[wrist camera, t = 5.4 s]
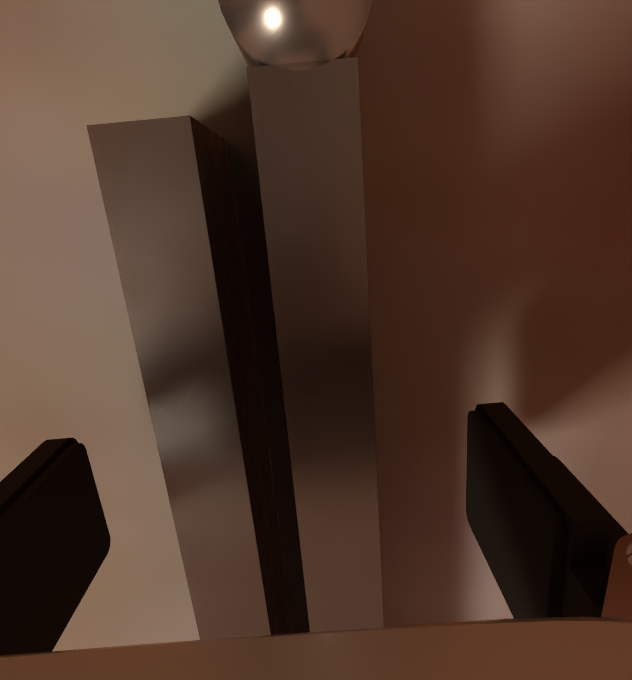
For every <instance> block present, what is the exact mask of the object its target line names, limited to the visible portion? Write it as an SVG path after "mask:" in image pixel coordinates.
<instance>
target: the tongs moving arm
mask: <svg viewBox="0 0 632 680" xmlns="http://www.w3.org/2000/svg"><path fill="white" fill-rule="evenodd" d="M218 1H219V4H220V8H221V11H222V13H223V16H224V18H225V20H226V22H227V24H228V26H229V28H230V31H231V33H232V35H233V37H234V39H235V41H236V43H237V45H238V47H239V49H240V51H241V53H242V55H243V57H244V59H245V61H246V63H247V65H248V67H247V75H248V83H249V92H250V101H251V110H252V119H253V128H254V137H255V146H256V155H257V164H258V173H259V182H260V190H261V199H262V208H263V217H264V226H265V235H266V244H267V253H268V262H269V271H270V280H271V289H272V298H273V306H274V315H275V324H276V333H277V342H278V351H279V360H280V369H281V378H282V387H283V396H284V405H285V414H286V422H287V431H288V440H289V449H290V458H291V467H292V476H293V485H294V494H295V503H296V512H297V521H298V529H299V538H300V547H301V556H302V565H303V574H304V583H305V592H306V601H307V610H308V619H309V628H310V632H321V631H335V630H350V629H365V628H380V627H384V618H383V596H382V574H381V552H380V530H379V508H378V486H377V464H376V442H375V421H374V399H373V377H372V355H371V333H370V311H369V289H368V267H367V245H366V223H365V202H364V180H363V158H362V136H361V114H360V92H359V70H358V57H356V55H357V51H358V48H359V45H360V42H361V39H362V36H363V33H364V29H365V26H366V23H367V20H368V17H369V14H370V11H371V7H372V3H373V0H218Z"/></svg>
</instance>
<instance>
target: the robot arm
mask: <svg viewBox="0 0 632 680" xmlns="http://www.w3.org/2000/svg"><path fill="white" fill-rule="evenodd" d="M466 513H467V518H468V522H469V525H470V527H471V529H472V531H473V533H474V535H475V538H476V540H477V542H478V544H479V546H480V548H481V550H482V552H483V554H484V556H485V559H486V561H487V563H488V565H489V567H490V569H491V571H492V573H493V575H494V577H495V579H496V582H497V584H498V586H499V588H500V590H501V592H502V594H503V596H504V598H505V600H506V603H507V605H508V607H509V609H510V611H511V613H512V615H513V617H514V619H499V620H484V621H469V622H454V623H439V624H424V625H409V626H395V627H380V628H365V629H350V630H335V631H321V632H306V633H291V634H278V635H264V636H250V637H236V638H223V639H209V640H196V641H182V642H169V643H156V644H142V645H129V646H116V647H104V648H91V649H79V650H66V651H54V652H52V650H53V649H54V647H55V645H56V643H57V642H58V640H59V638H60V636H61V635H62V633H63V631H64V629H65V628H66V626H67V624H68V622H69V621H70V619H71V617H72V615H73V613H74V612H75V610H76V608H77V606H78V605H79V603H80V601H81V599H82V598H83V596H84V594H85V592H86V591H87V589H88V587H89V585H90V584H91V582H92V580H93V578H94V577H95V575H96V573H97V571H98V570H99V568H100V566H101V564H102V563H103V561H104V559H105V557H106V555H107V554H108V551H109V548H110V534H109V531H108V527H107V524H106V520H105V516H104V513H103V509H102V505H101V502H100V498H99V495H98V491H97V487H96V484H95V480H94V477H93V473H92V469H91V466H90V462H89V458H88V455H87V451H86V448H85V446H84V445H83V444H81V443H78V442H77V440H76V439H74V438H64V439H51V440H46V441H44V442H43V443H42V444H41V445H40V446H39V447H38V448H37V449H35V450H34V451H33V452H32V453H31V454H30V455H29V456H28V457H27V458H26V459H25V460H24V461H22V462H21V463H20V464H19V465H18V466H17V467H16V468H15V469H14V470H13V471H12V472H11V473H9V474H8V475H7V476H6V477H5V478H4V479H3V480H2V481H1V482H0V680H632V533H631V534H628V533H627V532H626V531H625V530H624V529H623V528H622V526H621V525H620V524H619V523H618V522H617V521H616V520H615V519H614V518H613V517H612V516H611V515H610V514H609V513H608V511H607V510H606V509H605V508H604V507H603V506H602V505H601V504H600V503H599V502H598V501H597V500H596V499H595V497H594V496H593V495H592V494H591V493H590V492H589V491H588V490H587V489H586V488H585V487H584V486H583V485H582V484H581V482H580V481H579V480H578V479H577V478H576V477H575V476H574V475H573V474H572V473H571V472H570V471H569V470H568V469H567V467H566V466H565V465H564V464H563V463H562V462H561V461H560V460H559V459H558V458H556V457H555V456H553V455H552V454H551V453H550V452H549V451H548V450H547V449H546V448H545V447H544V446H543V445H542V444H541V442H540V441H539V440H538V439H537V438H536V437H535V436H534V435H533V434H532V433H531V432H530V431H529V429H528V428H527V427H526V426H525V425H524V424H523V423H522V422H521V421H520V420H519V419H518V418H517V416H516V415H515V414H514V413H513V412H512V411H511V410H510V409H509V408H508V407H507V406H506V404H504V403H503V402H500V403H488V404H477V406H476V408H475V411H469V413H468V424H467V483H466Z"/></svg>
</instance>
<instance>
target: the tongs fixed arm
mask: <svg viewBox="0 0 632 680" xmlns="http://www.w3.org/2000/svg"><path fill="white" fill-rule="evenodd" d="M87 129H88V133H89V138H90V142H91V147H92V152H93V156H94V161H95V165H96V170H97V174H98V179H99V183H100V188H101V192H102V197H103V201H104V206H105V210H106V215H107V219H108V224H109V229H110V233H111V238H112V242H113V247H114V251H115V256H116V260H117V265H118V269H119V274H120V278H121V283H122V287H123V292H124V296H125V301H126V306H127V310H128V315H129V319H130V324H131V328H132V333H133V337H134V342H135V346H136V351H137V355H138V360H139V364H140V369H141V373H142V378H143V383H144V387H145V392H146V396H147V401H148V405H149V410H150V414H151V419H152V423H153V428H154V432H155V437H156V441H157V446H158V450H159V455H160V460H161V464H162V469H163V473H164V478H165V482H166V487H167V491H168V496H169V500H170V505H171V509H172V514H173V518H174V523H175V527H176V532H177V537H178V541H179V546H180V550H181V555H182V559H183V564H184V568H185V573H186V577H187V582H188V586H189V591H190V595H191V600H192V604H193V609H194V614H195V618H196V623H197V627H198V632H199V636H200V640H209V639H223V638H236V637H250V636H264V635H278V634H291V633H295V632H294V624H293V617H292V609H291V602H290V595H289V587H288V580H287V572H286V565H285V558H284V550H283V543H282V535H281V528H280V520H279V513H278V506H277V498H276V491H275V483H274V476H273V468H272V461H271V454H270V446H269V439H268V431H267V424H266V417H265V409H264V402H263V394H262V387H261V379H260V372H259V365H258V357H257V350H256V342H255V335H254V328H253V320H252V313H251V305H250V298H249V290H248V283H247V276H246V268H245V261H244V253H243V246H242V238H241V231H240V224H239V216H238V209H237V201H236V194H235V187H234V179H233V172H232V164H231V157H230V149H229V142H228V140H226V139H225V138H223V137H222V136H220V135H219V134H217V133H216V132H214V131H212V130H211V129H209V128H208V127H206V126H205V125H203V124H202V123H200V122H199V121H197V120H195V119H194V118H192V117H191V116H181V117H171V118H160V119H150V120H139V121H129V122H118V123H108V124H97V125H87Z"/></svg>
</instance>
